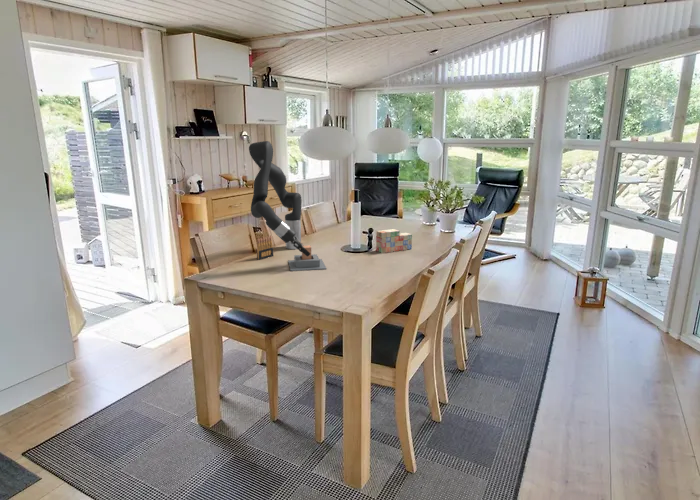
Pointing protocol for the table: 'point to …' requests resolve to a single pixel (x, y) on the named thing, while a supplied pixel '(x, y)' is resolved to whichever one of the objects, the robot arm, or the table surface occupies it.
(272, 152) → the robot arm
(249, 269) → the table surface
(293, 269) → the socket
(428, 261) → the table surface
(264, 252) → the ammunition clip
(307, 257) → the block
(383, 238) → the stack of blocks
